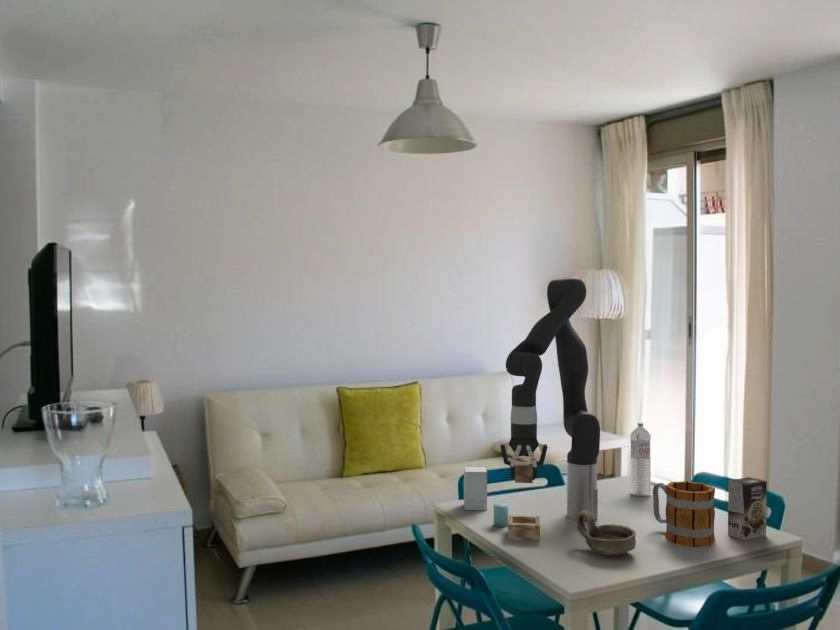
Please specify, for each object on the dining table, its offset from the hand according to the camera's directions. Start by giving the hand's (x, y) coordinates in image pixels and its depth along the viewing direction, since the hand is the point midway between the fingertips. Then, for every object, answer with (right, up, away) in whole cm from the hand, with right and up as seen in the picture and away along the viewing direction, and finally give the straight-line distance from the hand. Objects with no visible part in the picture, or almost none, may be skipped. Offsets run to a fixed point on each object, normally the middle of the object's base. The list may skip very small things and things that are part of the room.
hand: (523, 478), depth 219 cm
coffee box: (+65, -16, -1) cm, 67 cm away
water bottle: (+47, -15, +44) cm, 66 cm away
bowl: (+20, -17, -14) cm, 30 cm away
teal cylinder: (-6, -16, +10) cm, 20 cm away
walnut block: (0, 0, 0) cm, 0 cm away
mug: (+45, -17, -1) cm, 48 cm away
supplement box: (-12, -16, +29) cm, 36 cm away
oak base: (0, -16, 0) cm, 16 cm away
